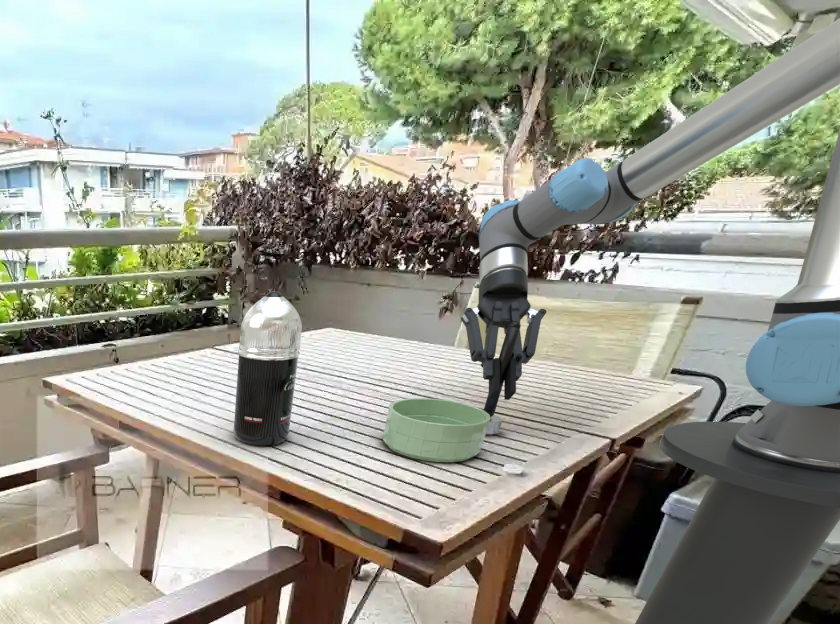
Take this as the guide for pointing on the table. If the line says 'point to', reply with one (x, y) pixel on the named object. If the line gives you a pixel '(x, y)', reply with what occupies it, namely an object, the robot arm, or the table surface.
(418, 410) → the bowl
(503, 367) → the grey disc on rod
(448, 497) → the table surface
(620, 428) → the table surface
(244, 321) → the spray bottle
